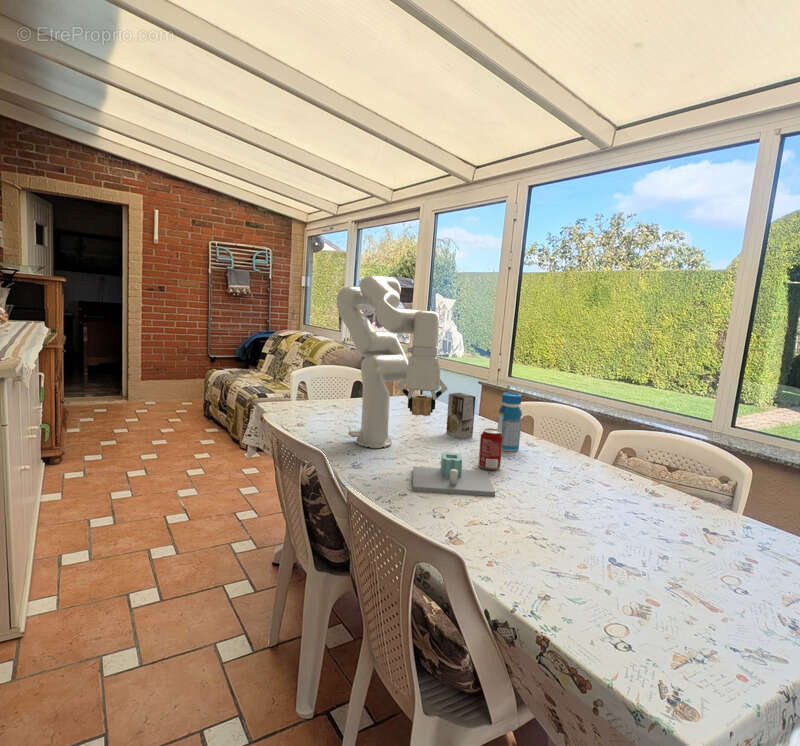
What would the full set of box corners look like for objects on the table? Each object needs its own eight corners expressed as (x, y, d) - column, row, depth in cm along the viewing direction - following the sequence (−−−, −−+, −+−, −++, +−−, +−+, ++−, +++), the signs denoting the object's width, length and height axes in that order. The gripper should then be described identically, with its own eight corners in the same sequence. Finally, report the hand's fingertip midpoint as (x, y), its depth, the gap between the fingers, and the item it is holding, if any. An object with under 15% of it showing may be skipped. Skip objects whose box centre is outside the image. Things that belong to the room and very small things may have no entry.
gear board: (412, 490, 126) (414, 468, 125) (413, 470, 142) (414, 450, 141) (494, 496, 126) (496, 474, 125) (485, 474, 142) (487, 454, 141)
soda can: (499, 472, 144) (503, 434, 143) (477, 469, 146) (480, 432, 144) (499, 465, 151) (503, 429, 149) (478, 462, 152) (481, 426, 151)
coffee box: (473, 437, 182) (476, 396, 180) (460, 439, 179) (463, 397, 176) (457, 431, 190) (460, 392, 187) (445, 433, 186) (448, 393, 184)
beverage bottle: (509, 453, 164) (515, 397, 161) (490, 447, 170) (495, 393, 167) (523, 449, 170) (529, 395, 167) (504, 443, 176) (509, 391, 173)
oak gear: (411, 415, 140) (412, 398, 140) (411, 410, 147) (412, 394, 147) (430, 416, 140) (431, 399, 139) (429, 411, 147) (430, 395, 147)
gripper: (395, 352, 138) (392, 412, 140) (454, 355, 137) (450, 415, 140) (396, 349, 145) (393, 407, 148) (452, 352, 145) (448, 410, 147)
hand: (421, 410), depth 144 cm, fingers closed on oak gear, 5 cm apart
